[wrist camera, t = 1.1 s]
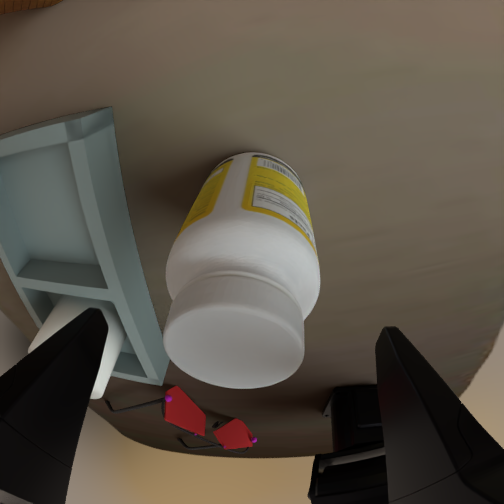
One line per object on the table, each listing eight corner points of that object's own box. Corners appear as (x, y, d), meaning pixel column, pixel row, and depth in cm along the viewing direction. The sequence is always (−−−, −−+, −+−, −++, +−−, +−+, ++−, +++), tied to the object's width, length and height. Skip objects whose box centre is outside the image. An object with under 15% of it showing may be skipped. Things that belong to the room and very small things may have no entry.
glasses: (259, 422, 33) (257, 457, 29) (179, 437, 40) (174, 464, 36) (172, 374, 28) (161, 417, 24) (105, 398, 35) (95, 428, 31)
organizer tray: (170, 358, 25) (161, 385, 23) (73, 340, 26) (61, 362, 23) (111, 106, 13) (80, 118, 11) (-7, 137, 14) (-35, 153, 11)
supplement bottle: (214, 244, 18) (171, 395, 10) (195, 156, 15) (103, 284, 7) (307, 238, 17) (324, 397, 9) (302, 145, 14) (336, 273, 6)
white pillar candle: (137, 346, 23) (115, 406, 18) (78, 335, 24) (53, 386, 19) (115, 291, 20) (80, 357, 15) (51, 283, 20) (14, 337, 15)
